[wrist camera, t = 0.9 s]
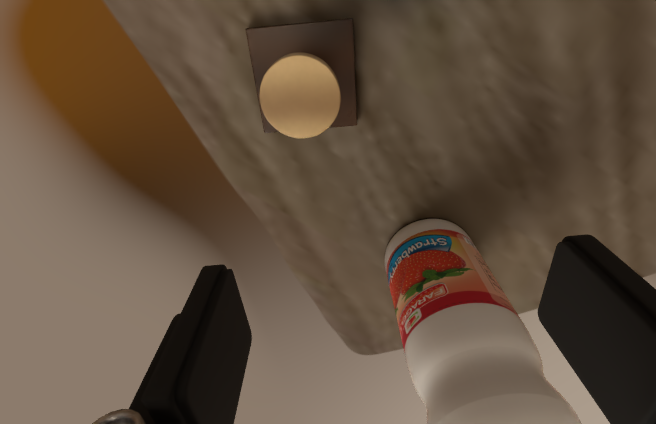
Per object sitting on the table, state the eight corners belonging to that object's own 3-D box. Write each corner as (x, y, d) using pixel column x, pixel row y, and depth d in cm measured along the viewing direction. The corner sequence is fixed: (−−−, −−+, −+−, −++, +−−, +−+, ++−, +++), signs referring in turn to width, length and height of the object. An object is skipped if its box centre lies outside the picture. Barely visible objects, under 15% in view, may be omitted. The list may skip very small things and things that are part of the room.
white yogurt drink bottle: (432, 295, 41) (581, 702, 17) (366, 264, 39) (433, 690, 15) (488, 239, 37) (790, 673, 13) (418, 200, 35) (633, 649, 11)
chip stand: (247, 28, 27) (229, 33, 21) (351, 17, 26) (358, 21, 21) (266, 129, 31) (254, 155, 26) (356, 122, 30) (362, 146, 25)
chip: (256, 56, 22) (251, 59, 21) (337, 48, 22) (338, 51, 21) (269, 135, 25) (266, 141, 24) (342, 129, 25) (343, 135, 23)
